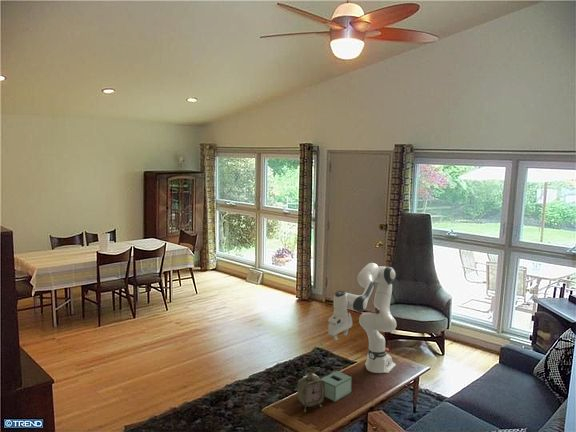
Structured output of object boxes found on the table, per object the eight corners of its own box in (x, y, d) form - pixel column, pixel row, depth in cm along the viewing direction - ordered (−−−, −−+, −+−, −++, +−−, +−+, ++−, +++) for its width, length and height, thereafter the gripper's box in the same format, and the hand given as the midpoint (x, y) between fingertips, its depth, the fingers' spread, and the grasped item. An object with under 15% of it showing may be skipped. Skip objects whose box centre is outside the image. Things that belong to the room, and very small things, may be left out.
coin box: (336, 385, 291) (336, 370, 290) (351, 392, 283) (351, 377, 282) (319, 394, 280) (320, 379, 279) (334, 401, 272) (334, 386, 271)
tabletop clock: (303, 414, 258) (303, 372, 255) (295, 407, 266) (295, 366, 263) (324, 407, 265) (325, 367, 262) (316, 400, 273) (316, 361, 270)
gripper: (346, 311, 295) (347, 331, 297) (326, 320, 281) (326, 341, 283) (354, 313, 290) (354, 333, 293) (334, 322, 276) (334, 344, 279)
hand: (340, 337), depth 288 cm, fingers open, 8 cm apart
